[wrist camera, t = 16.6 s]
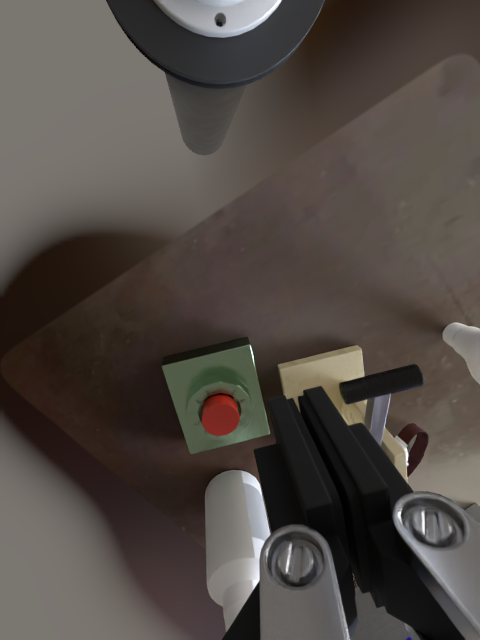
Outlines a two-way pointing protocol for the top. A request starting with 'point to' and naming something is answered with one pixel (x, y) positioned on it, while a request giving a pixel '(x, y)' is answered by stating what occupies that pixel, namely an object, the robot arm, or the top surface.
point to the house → (375, 623)
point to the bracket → (336, 390)
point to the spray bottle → (233, 539)
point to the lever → (380, 394)
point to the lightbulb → (465, 345)
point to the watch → (418, 447)
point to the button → (220, 415)
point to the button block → (216, 391)
